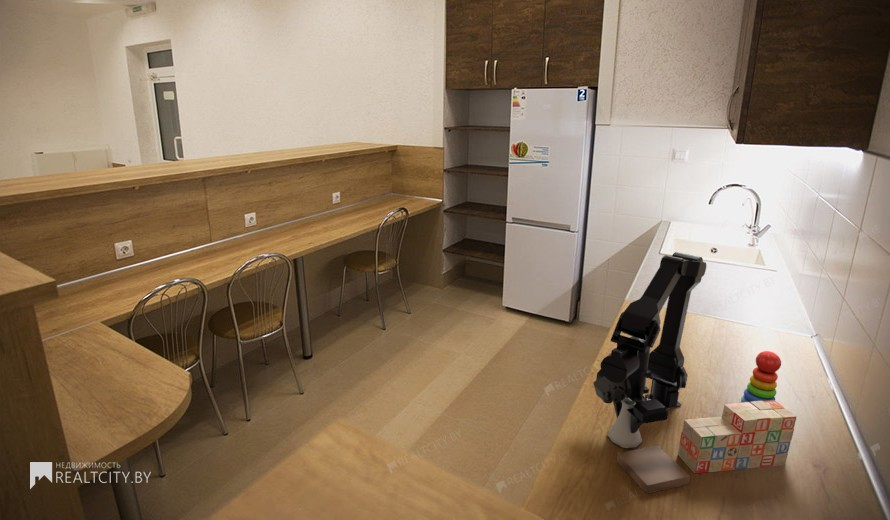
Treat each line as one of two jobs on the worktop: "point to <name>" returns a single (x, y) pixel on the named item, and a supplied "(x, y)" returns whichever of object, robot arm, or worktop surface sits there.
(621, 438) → the flask
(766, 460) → the stack of blocks
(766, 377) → the stacking toy
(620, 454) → the plinth
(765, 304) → the worktop surface
